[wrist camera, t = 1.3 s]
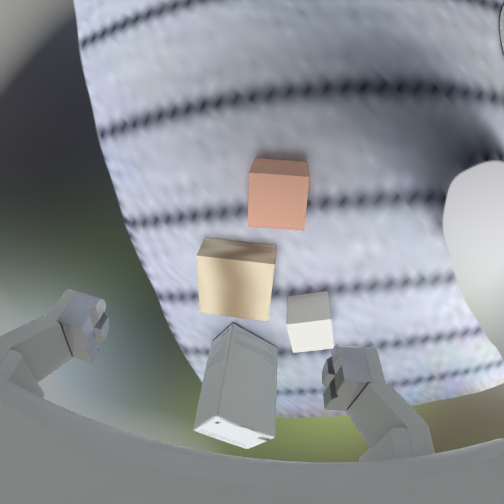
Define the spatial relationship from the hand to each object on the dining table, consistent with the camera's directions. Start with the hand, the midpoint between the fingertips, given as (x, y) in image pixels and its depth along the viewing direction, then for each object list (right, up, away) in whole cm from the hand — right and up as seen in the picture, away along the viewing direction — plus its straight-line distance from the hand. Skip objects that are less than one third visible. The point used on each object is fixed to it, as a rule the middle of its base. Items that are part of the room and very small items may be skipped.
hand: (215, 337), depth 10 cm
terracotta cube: (+4, +10, +20) cm, 23 cm away
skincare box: (0, -10, +33) cm, 35 cm away
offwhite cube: (+9, -4, +28) cm, 30 cm away
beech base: (0, +1, +27) cm, 27 cm away
